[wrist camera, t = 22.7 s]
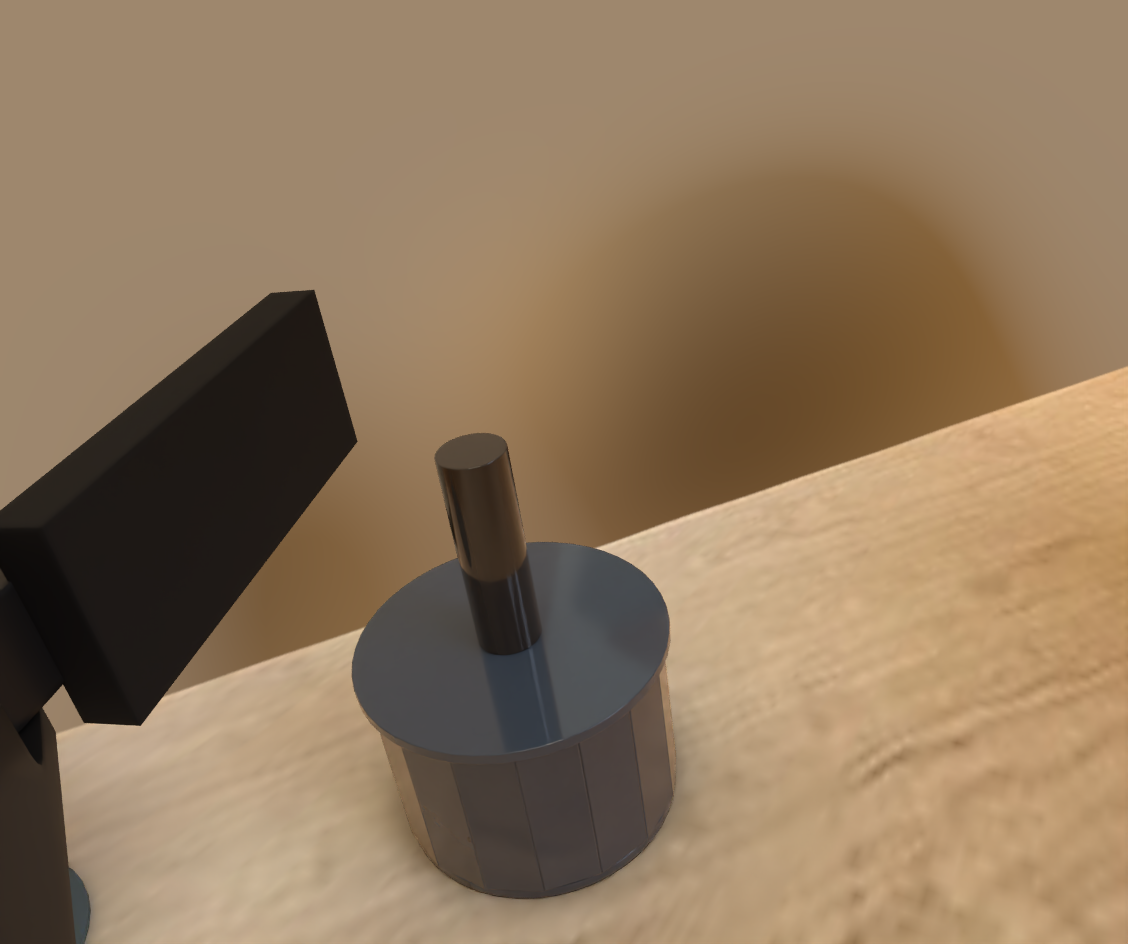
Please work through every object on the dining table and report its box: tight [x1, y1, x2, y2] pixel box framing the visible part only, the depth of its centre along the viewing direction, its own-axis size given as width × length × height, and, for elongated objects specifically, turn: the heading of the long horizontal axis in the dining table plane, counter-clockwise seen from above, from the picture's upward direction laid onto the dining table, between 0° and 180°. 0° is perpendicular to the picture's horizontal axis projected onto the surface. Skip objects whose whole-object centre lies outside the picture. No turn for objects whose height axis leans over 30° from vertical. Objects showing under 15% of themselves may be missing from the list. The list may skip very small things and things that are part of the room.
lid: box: [352, 433, 670, 765], centre depth 39 cm, size 14×14×10 cm
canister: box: [380, 661, 676, 898], centre depth 43 cm, size 13×13×8 cm
